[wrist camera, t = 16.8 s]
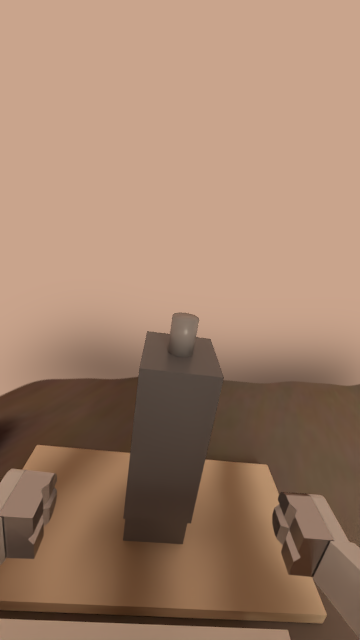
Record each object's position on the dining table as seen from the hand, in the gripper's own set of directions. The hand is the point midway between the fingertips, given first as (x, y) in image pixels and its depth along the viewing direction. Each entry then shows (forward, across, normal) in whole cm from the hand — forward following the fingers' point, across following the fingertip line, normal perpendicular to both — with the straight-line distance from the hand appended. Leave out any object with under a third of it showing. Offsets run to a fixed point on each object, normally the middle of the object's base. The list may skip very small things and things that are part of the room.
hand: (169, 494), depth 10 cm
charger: (+6, 0, +10) cm, 12 cm away
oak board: (+6, 0, +11) cm, 12 cm away
